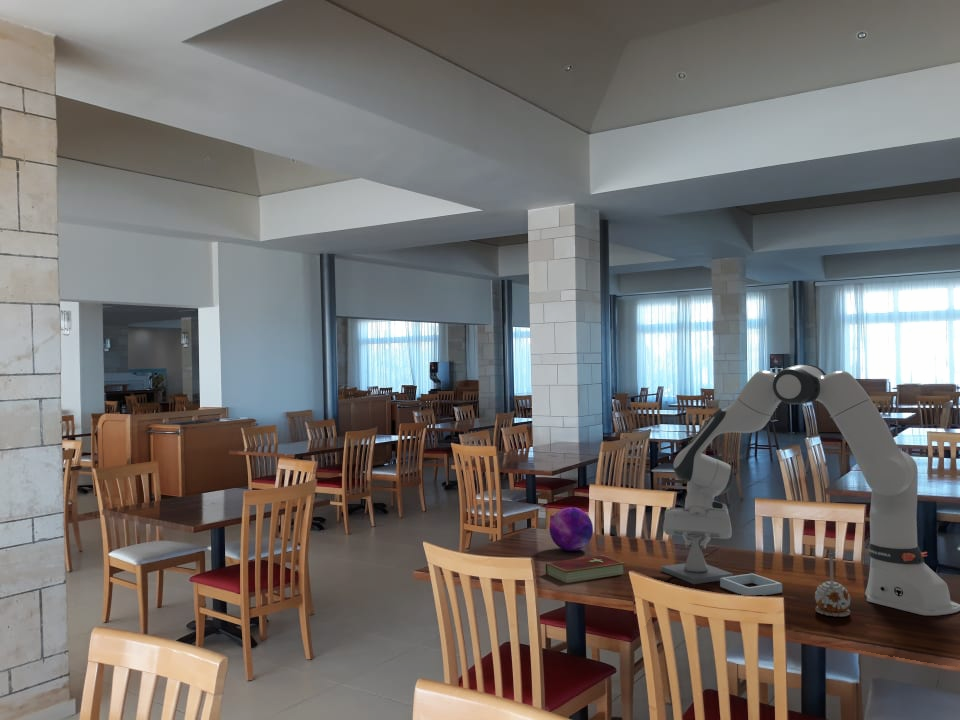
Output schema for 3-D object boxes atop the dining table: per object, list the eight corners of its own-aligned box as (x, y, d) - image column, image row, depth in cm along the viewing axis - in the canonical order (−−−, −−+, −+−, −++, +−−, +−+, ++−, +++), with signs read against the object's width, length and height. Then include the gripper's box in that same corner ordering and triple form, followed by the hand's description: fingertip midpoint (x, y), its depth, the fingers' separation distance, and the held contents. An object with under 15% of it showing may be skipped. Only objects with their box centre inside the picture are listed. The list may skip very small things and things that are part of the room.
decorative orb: (595, 555, 253) (594, 511, 254) (550, 555, 254) (549, 511, 255) (591, 545, 268) (590, 503, 269) (549, 545, 269) (548, 503, 270)
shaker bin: (782, 592, 208) (782, 583, 208) (748, 597, 203) (748, 588, 203) (752, 581, 218) (752, 573, 218) (720, 586, 214) (720, 577, 214)
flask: (710, 573, 223) (710, 539, 224) (686, 572, 224) (685, 539, 224) (705, 566, 231) (705, 534, 231) (681, 566, 231) (681, 534, 231)
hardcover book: (545, 575, 231) (545, 561, 232) (602, 567, 240) (602, 553, 240) (566, 584, 221) (565, 570, 221) (625, 575, 229) (624, 562, 230)
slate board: (733, 578, 222) (732, 573, 222) (693, 584, 217) (693, 579, 217) (698, 566, 237) (698, 561, 237) (661, 571, 232) (661, 566, 232)
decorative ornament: (830, 619, 184) (828, 558, 185) (809, 610, 192) (807, 551, 192) (857, 616, 186) (855, 556, 186) (835, 607, 194) (833, 549, 194)
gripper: (664, 501, 238) (658, 538, 229) (731, 504, 230) (729, 543, 221) (666, 513, 242) (661, 550, 233) (733, 517, 234) (731, 555, 225)
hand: (695, 547), depth 227 cm, fingers closed on flask, 3 cm apart
